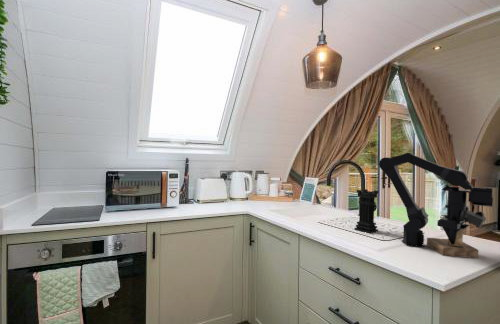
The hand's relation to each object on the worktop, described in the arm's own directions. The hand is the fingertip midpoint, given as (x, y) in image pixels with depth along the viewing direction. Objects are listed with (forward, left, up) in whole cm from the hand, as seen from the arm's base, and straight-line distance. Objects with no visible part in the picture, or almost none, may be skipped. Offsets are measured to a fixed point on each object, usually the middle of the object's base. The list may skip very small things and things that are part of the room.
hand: (454, 243), depth 103 cm
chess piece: (-26, +26, -4) cm, 37 cm away
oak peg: (0, 0, -4) cm, 4 cm away
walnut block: (0, +3, -4) cm, 5 cm away
